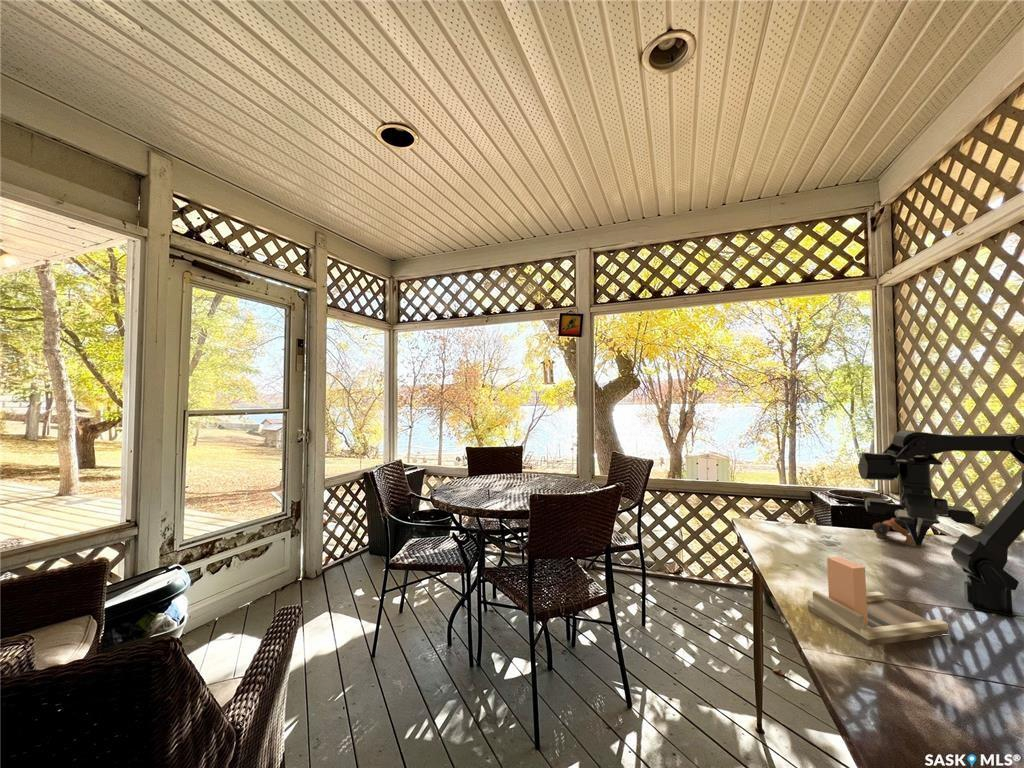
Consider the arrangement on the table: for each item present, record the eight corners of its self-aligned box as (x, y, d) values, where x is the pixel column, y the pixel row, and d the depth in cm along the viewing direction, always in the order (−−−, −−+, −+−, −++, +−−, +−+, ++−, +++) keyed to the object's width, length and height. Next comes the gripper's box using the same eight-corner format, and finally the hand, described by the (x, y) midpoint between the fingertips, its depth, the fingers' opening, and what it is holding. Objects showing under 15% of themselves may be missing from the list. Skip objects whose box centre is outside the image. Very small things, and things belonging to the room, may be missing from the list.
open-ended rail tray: (878, 601, 98) (877, 581, 98) (948, 635, 84) (947, 610, 84) (807, 609, 95) (806, 588, 95) (868, 645, 81) (867, 620, 82)
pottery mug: (889, 535, 144) (904, 518, 141) (912, 556, 136) (928, 538, 132) (859, 528, 143) (873, 510, 140) (880, 549, 135) (895, 531, 131)
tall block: (840, 609, 92) (838, 556, 92) (867, 624, 86) (864, 567, 87) (829, 611, 92) (827, 557, 92) (855, 625, 86) (852, 568, 86)
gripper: (868, 483, 99) (871, 547, 99) (981, 492, 88) (985, 565, 88) (863, 475, 108) (866, 534, 108) (966, 483, 97) (969, 549, 97)
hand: (917, 545), depth 100 cm, fingers closed
